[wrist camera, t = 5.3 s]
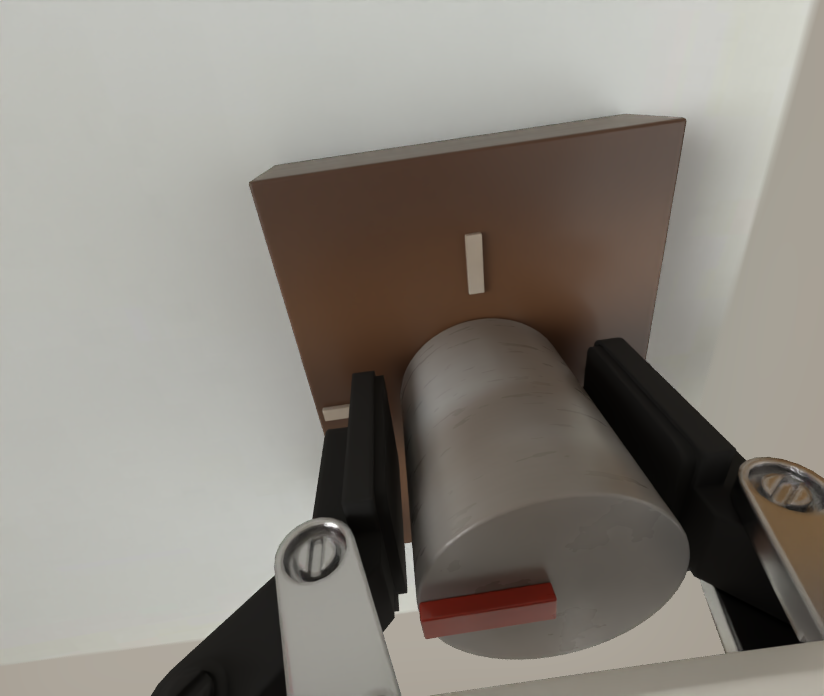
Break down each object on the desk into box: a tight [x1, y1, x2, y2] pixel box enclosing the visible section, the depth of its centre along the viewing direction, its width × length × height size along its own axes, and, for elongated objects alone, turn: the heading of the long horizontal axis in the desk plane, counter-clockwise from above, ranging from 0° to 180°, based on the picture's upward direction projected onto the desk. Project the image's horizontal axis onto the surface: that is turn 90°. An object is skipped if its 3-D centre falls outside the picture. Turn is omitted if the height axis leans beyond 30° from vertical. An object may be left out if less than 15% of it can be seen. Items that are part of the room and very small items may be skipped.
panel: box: [249, 114, 686, 543], centre depth 13 cm, size 12×9×3 cm
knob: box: [400, 318, 690, 659], centre depth 9 cm, size 4×4×6 cm
